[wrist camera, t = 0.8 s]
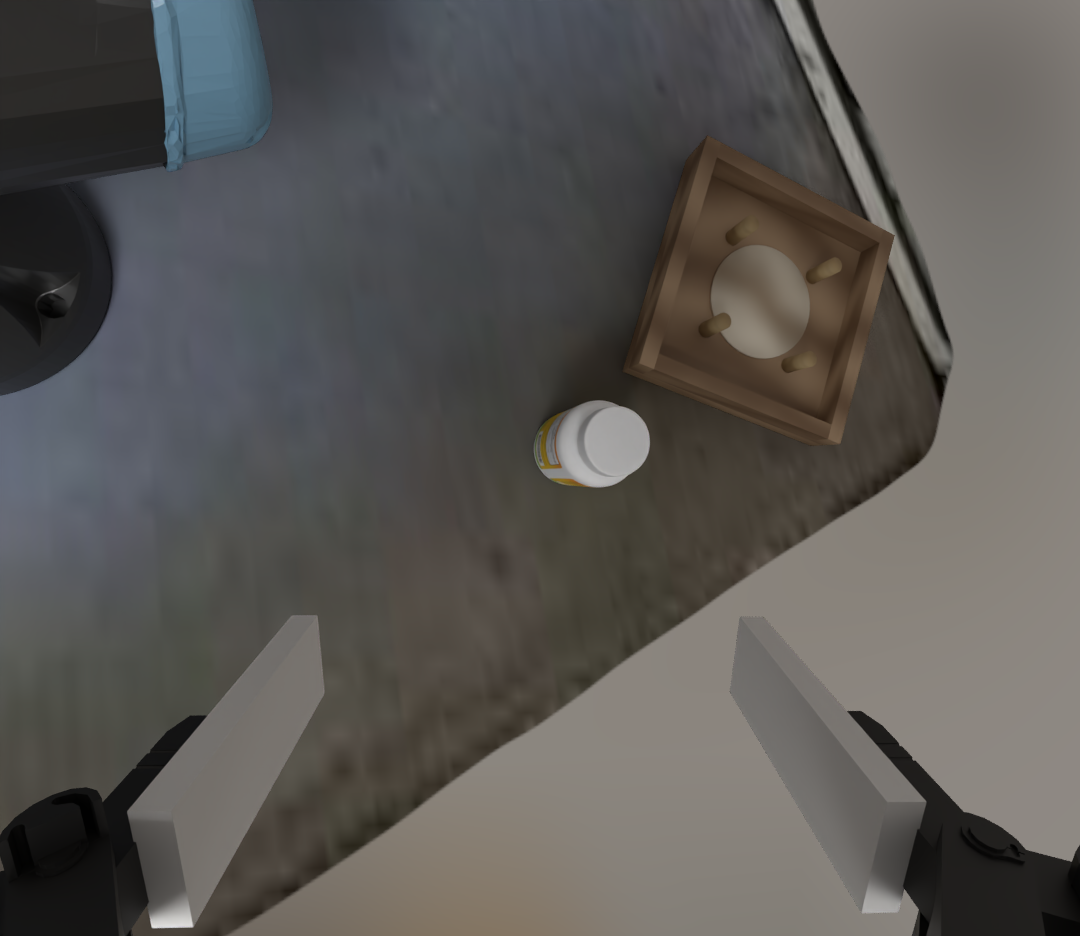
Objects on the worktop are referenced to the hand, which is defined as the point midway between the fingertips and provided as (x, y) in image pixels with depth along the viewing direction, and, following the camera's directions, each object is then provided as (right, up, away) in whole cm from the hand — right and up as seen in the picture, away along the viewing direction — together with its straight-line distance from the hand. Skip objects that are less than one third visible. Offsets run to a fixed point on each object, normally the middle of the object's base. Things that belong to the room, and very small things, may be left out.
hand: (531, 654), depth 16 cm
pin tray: (+18, +19, +26) cm, 36 cm away
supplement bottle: (+2, +7, +22) cm, 23 cm away
